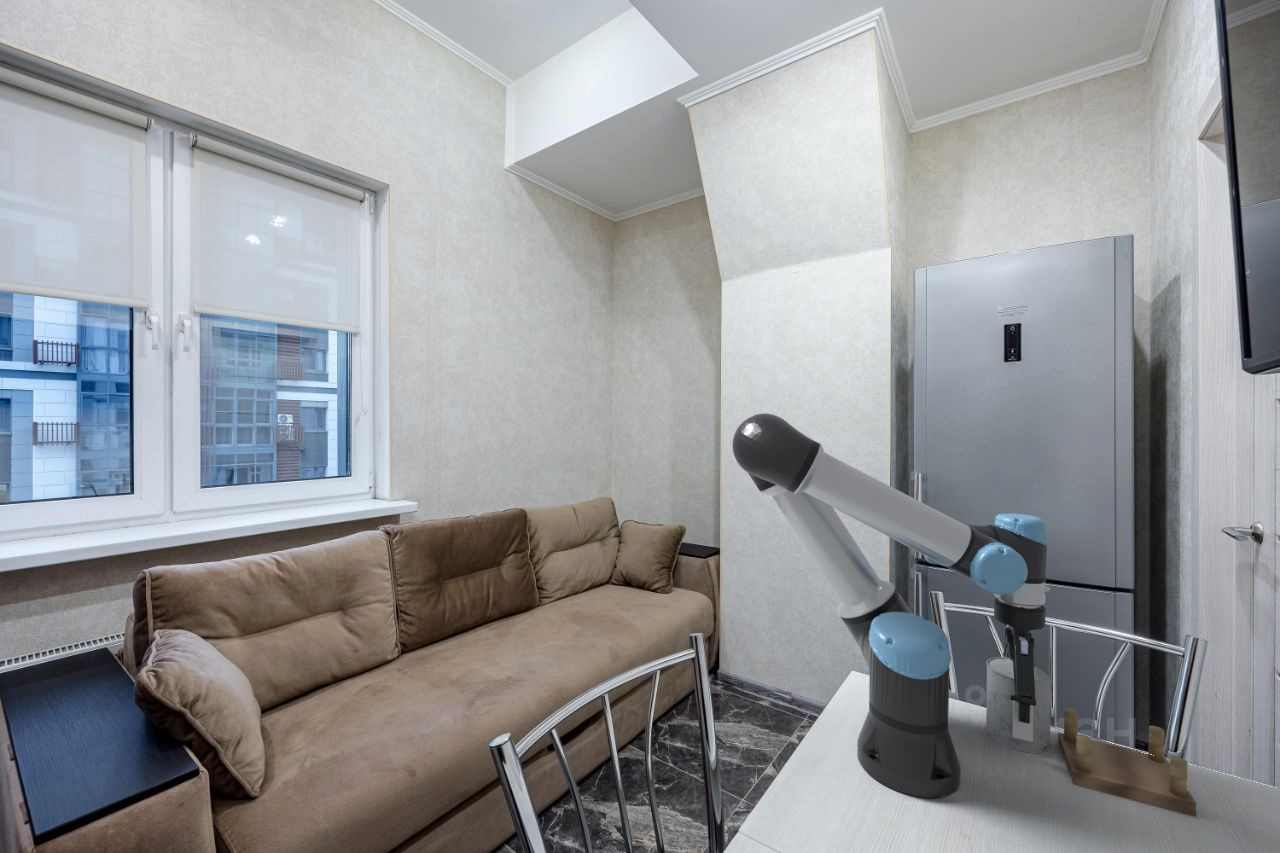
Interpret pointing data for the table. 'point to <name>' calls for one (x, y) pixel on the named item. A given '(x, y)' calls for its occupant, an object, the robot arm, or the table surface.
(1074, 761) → the peg stand
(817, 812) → the table surface
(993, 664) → the grey marbled cylinder
